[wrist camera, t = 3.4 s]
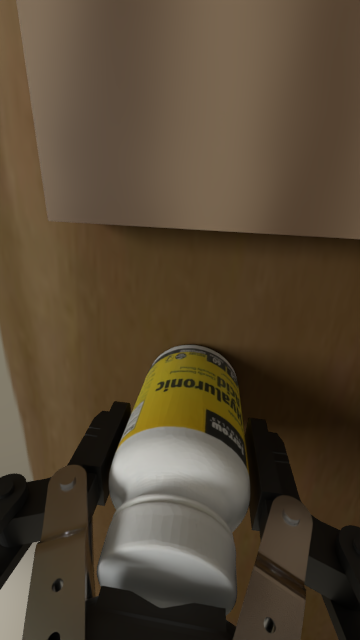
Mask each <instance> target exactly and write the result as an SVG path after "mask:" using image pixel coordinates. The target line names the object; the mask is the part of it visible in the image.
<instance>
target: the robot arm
mask: <svg viewBox="0 0 360 640" xmlns="http://www.w3.org/2000/svg"><path fill="white" fill-rule="evenodd" d="M130 416H131V407H130V403H125V402H117V401H115V402H114V403H113V405H112V407H111V409H110V411H109V412H108V411H102V412H101V413H99V414H98V415H97V416H96V417H95V418H94V419H93V421H92V423H91V424H90V426H89V429H88V430H87V431H86V433H85V436H84V437H83V439H82V440H81V442H80V444H79V446H78V447H77V449H76V451H75V453H74V455H73V456H72V458H71V460H70V462H69V463H68V465H67V466H65V467H63V468H61V469H59V470H58V471H57V472H56V473H54V475H53V476H52V477H50V478H47V479H42V480H36V481H31V482H26V479H25V478H24V476H22V475H20V474H8V475H6V476H3V477H1V478H0V589H1V588H2V586H3V585H4V583H5V582H6V581H7V579H8V578H9V576H10V575H11V573H12V572H13V570H14V569H15V567H16V566H17V565H18V563H19V562H20V560H21V558H22V557H23V556H24V554H25V553H26V551H27V550H28V548H29V547H30V546H31V544H32V543H33V542H37V541H40V542H38V543H37V545H36V549H35V554H34V561H33V569H32V576H31V582H30V589H29V595H28V602H27V609H26V616H25V623H24V630H23V638H22V640H300V638H301V630H302V623H303V615H304V608H305V599H306V589H305V588H304V585H306V586H308V587H310V588H311V589H313V590H315V591H317V592H318V593H320V594H321V595H322V597H323V600H324V603H325V605H326V608H327V610H328V613H329V615H330V618H331V621H332V623H333V626H334V628H335V631H336V633H337V636H338V639H339V640H360V528H359V527H357V526H351V525H349V526H345V527H343V528H342V529H341V530H338V529H336V528H334V527H332V526H330V525H327V524H325V523H323V522H321V521H319V520H318V519H316V518H315V517H313V516H312V515H311V514H310V513H309V511H308V509H307V508H306V507H305V505H303V504H302V502H301V500H300V498H299V495H298V491H297V488H296V484H295V481H294V477H293V474H292V470H291V467H290V464H289V460H288V456H287V453H286V449H285V446H284V442H283V441H282V440H281V438H280V437H279V436H278V434H277V433H273V432H268V429H267V424H266V421H265V420H263V419H255V418H249V419H248V423H247V428H246V433H245V443H246V451H247V459H248V468H249V477H250V503H249V508H250V517H251V526H252V530H256V531H260V538H261V544H260V547H259V551H258V554H257V558H256V561H255V565H254V568H253V571H252V575H251V578H250V582H249V585H248V589H247V592H246V596H245V599H244V602H243V606H242V609H241V613H240V616H239V620H238V623H237V627H236V626H234V625H233V624H232V623H230V622H228V621H227V620H226V609H225V608H220V607H215V606H209V605H204V604H198V603H189V604H184V605H178V606H172V607H167V608H159V607H157V606H156V605H154V604H152V603H151V602H149V601H147V600H146V599H144V598H142V597H140V596H139V595H137V594H135V593H134V592H132V591H129V590H123V589H118V588H113V587H107V586H101V589H100V593H99V596H97V597H95V581H94V557H93V517H92V516H93V514H94V511H95V509H96V506H97V505H102V506H105V503H106V501H107V498H108V495H109V472H110V468H111V464H112V461H113V458H114V455H115V453H116V450H117V448H118V445H119V443H120V440H121V438H122V436H123V433H124V431H125V428H126V426H127V423H128V421H129V418H130Z"/></svg>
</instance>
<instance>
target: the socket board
mask: <svg viewBox="0 0 360 640" xmlns="http://www.w3.org/2000/svg"><path fill="white" fill-rule="evenodd" d="M16 2H17V9H18V16H19V23H20V30H21V36H22V43H23V50H24V57H25V64H26V71H27V78H28V85H29V92H30V99H31V106H32V113H33V120H34V126H35V133H36V140H37V147H38V154H39V161H40V168H41V175H42V182H43V189H44V196H45V203H46V209H47V216H48V221H58V222H75V223H92V224H109V225H126V226H143V227H160V228H177V229H194V230H211V231H228V232H245V233H262V234H279V235H296V236H313V237H330V238H347V239H360V0H16Z"/></svg>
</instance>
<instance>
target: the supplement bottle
mask: <svg viewBox="0 0 360 640" xmlns="http://www.w3.org/2000/svg"><path fill="white" fill-rule="evenodd" d="M109 492H110V497H111V500H112V502H113V505H114V507H115V508H116V512H115V514H114V516H113V519H112V522H111V524H110V526H109V529H108V532H107V536H106V539H105V542H104V545H103V549H102V552H101V555H100V559H99V562H98V566H97V577H98V581H99V584H100V585H101V586H107V587H113V588H118V589H123V590H129V591H132V592H134V593H135V594H137V595H139V596H140V597H142V598H144V599H146V600H147V601H149V602H151V603H152V604H154V605H156V606H157V607H159V608H167V607H172V606H178V605H184V604H189V603H198V604H204V605H209V606H215V607H220V608H225V609H226V615H227V614H228V613H229V612H231V610H232V609H233V607H234V605H235V603H236V598H237V580H236V550H235V544H234V540H233V535H232V532H233V531H234V530H235V529H236V528H237V527H238V526H239V524H240V523H241V522H242V520H243V518H244V517H245V515H246V513H247V510H248V507H249V503H250V477H249V468H248V459H247V451H246V443H245V435H244V427H243V418H242V411H241V403H240V395H239V386H238V382H237V377H236V374H235V372H234V370H233V368H232V366H231V365H230V363H229V362H228V361H227V360H226V359H225V358H224V357H223V356H221V355H220V354H219V353H217V352H215V351H213V350H211V349H209V348H206V347H202V346H198V345H182V346H177V347H174V348H171V349H169V350H167V351H165V352H164V353H162V354H161V355H160V356H159V357H158V358H157V359H156V360H155V362H154V363H153V365H152V366H151V368H150V370H149V372H148V374H147V377H146V379H145V382H144V384H143V387H142V389H141V391H140V394H139V396H138V399H137V401H136V404H135V406H134V409H133V411H132V413H131V416H130V418H129V421H128V423H127V426H126V428H125V431H124V433H123V436H122V438H121V440H120V443H119V445H118V448H117V450H116V453H115V455H114V458H113V461H112V464H111V468H110V472H109Z"/></svg>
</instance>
